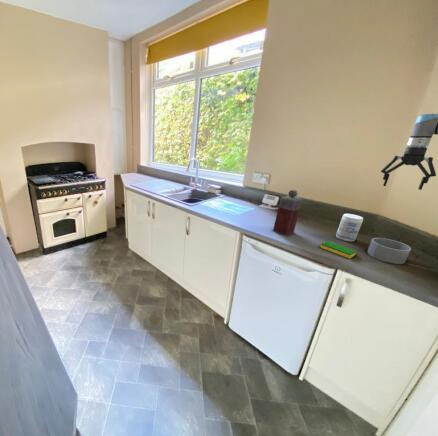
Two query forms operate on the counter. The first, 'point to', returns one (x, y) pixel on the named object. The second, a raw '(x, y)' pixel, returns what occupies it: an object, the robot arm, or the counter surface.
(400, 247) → the gray round bowl
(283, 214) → the glass decanter
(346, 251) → the dish sponge
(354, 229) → the supplement tub
